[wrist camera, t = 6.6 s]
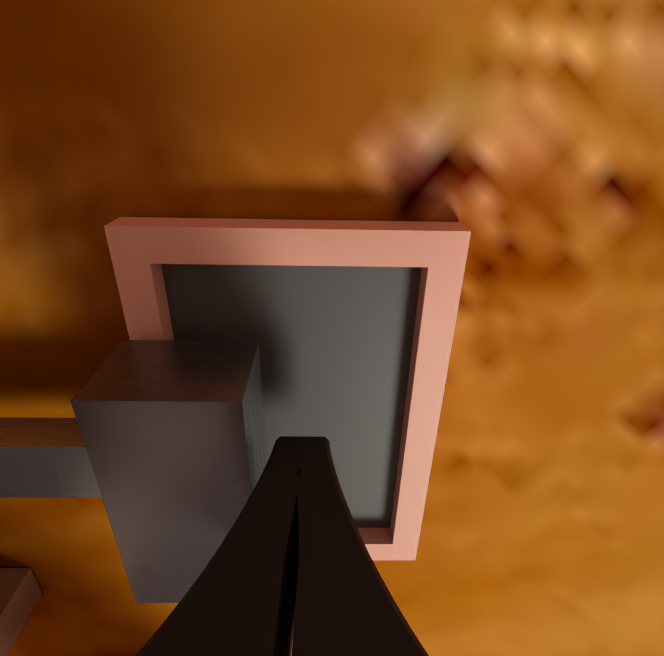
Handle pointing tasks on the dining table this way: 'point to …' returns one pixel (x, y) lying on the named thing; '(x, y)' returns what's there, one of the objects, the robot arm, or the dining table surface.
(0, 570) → the tunnel
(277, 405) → the picture frame
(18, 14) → the dining table surface
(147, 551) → the grey piece
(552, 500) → the dining table surface
